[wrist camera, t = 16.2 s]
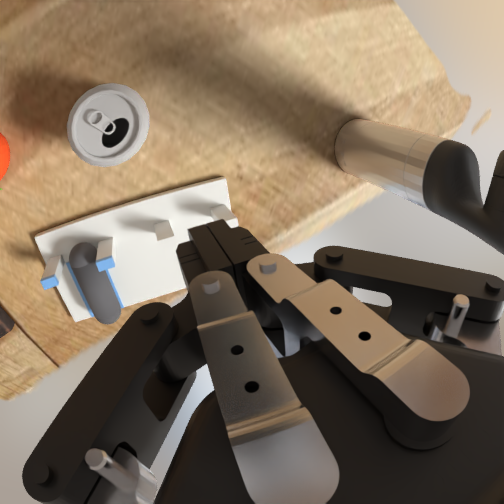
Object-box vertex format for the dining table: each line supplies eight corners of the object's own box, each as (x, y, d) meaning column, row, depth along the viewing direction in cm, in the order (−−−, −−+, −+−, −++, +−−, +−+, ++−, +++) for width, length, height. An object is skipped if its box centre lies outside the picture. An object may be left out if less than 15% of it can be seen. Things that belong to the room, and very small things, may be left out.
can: (116, 163, 34) (111, 188, 24) (71, 127, 29) (45, 137, 20) (157, 115, 33) (169, 118, 23) (112, 77, 29) (104, 64, 19)
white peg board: (223, 176, 40) (241, 190, 34) (238, 266, 47) (255, 290, 41) (36, 233, 33) (23, 258, 27) (76, 316, 40) (72, 348, 35)
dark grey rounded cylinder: (62, 245, 33) (65, 257, 30) (90, 232, 35) (95, 243, 32) (96, 319, 39) (103, 334, 37) (120, 307, 41) (128, 321, 38)
